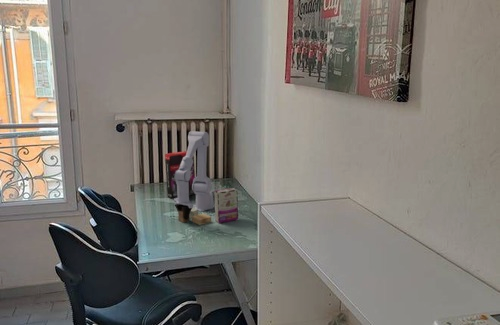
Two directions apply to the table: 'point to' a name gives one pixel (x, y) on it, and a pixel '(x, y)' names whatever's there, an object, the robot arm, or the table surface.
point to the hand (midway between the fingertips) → (183, 218)
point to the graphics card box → (171, 167)
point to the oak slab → (201, 219)
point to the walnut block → (182, 216)
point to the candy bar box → (226, 205)
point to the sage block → (193, 212)
